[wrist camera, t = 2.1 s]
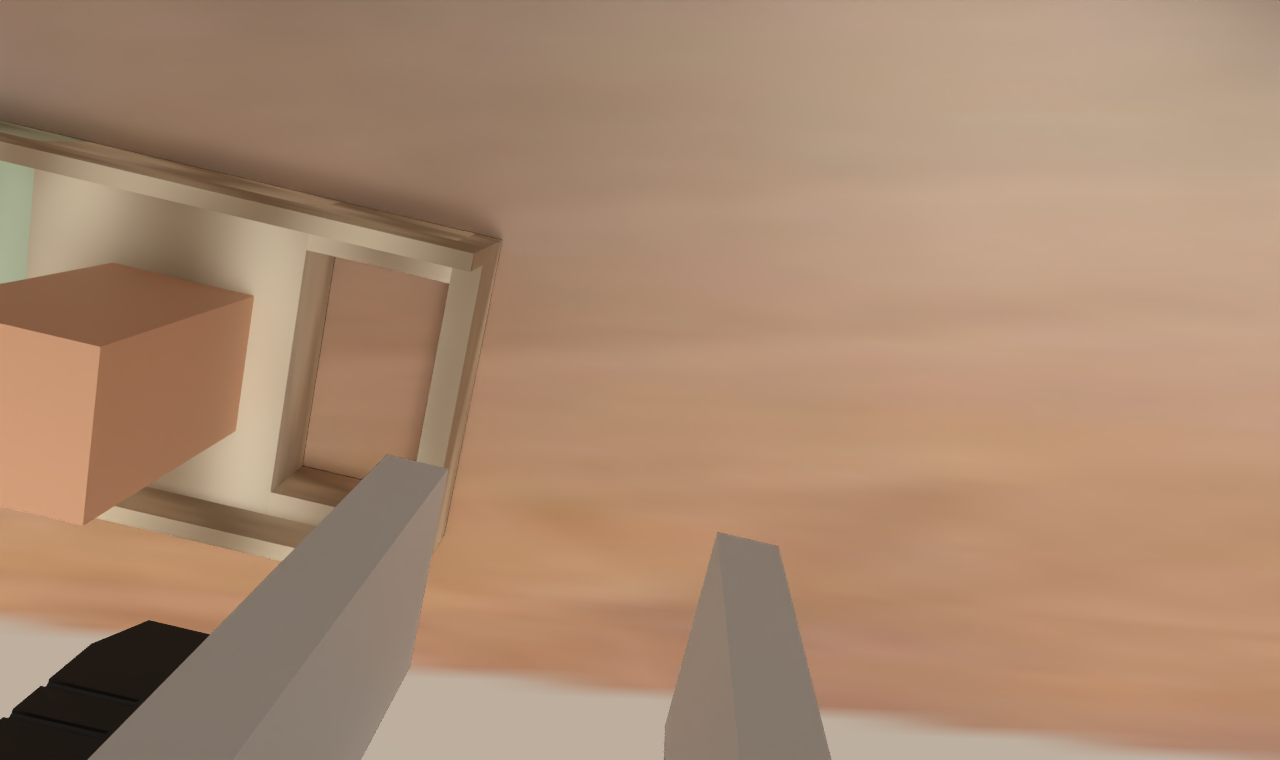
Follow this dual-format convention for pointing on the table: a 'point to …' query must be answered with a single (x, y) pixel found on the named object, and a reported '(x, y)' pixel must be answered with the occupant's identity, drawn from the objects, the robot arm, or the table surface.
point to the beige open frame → (280, 323)
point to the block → (112, 384)
